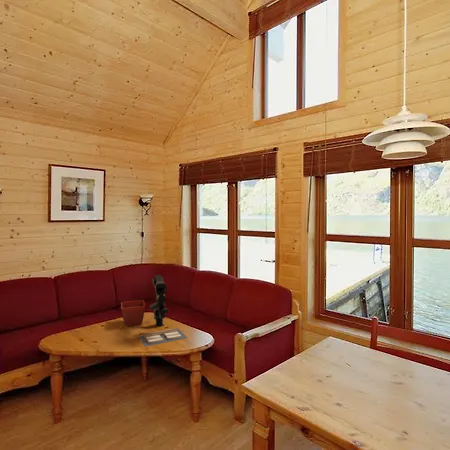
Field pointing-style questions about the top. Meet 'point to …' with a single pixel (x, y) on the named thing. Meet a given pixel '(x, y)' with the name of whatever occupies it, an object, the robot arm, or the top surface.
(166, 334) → the beige flat square block
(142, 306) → the plant pot
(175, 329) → the light brown plank
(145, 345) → the underlay
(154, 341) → the light beige plank
